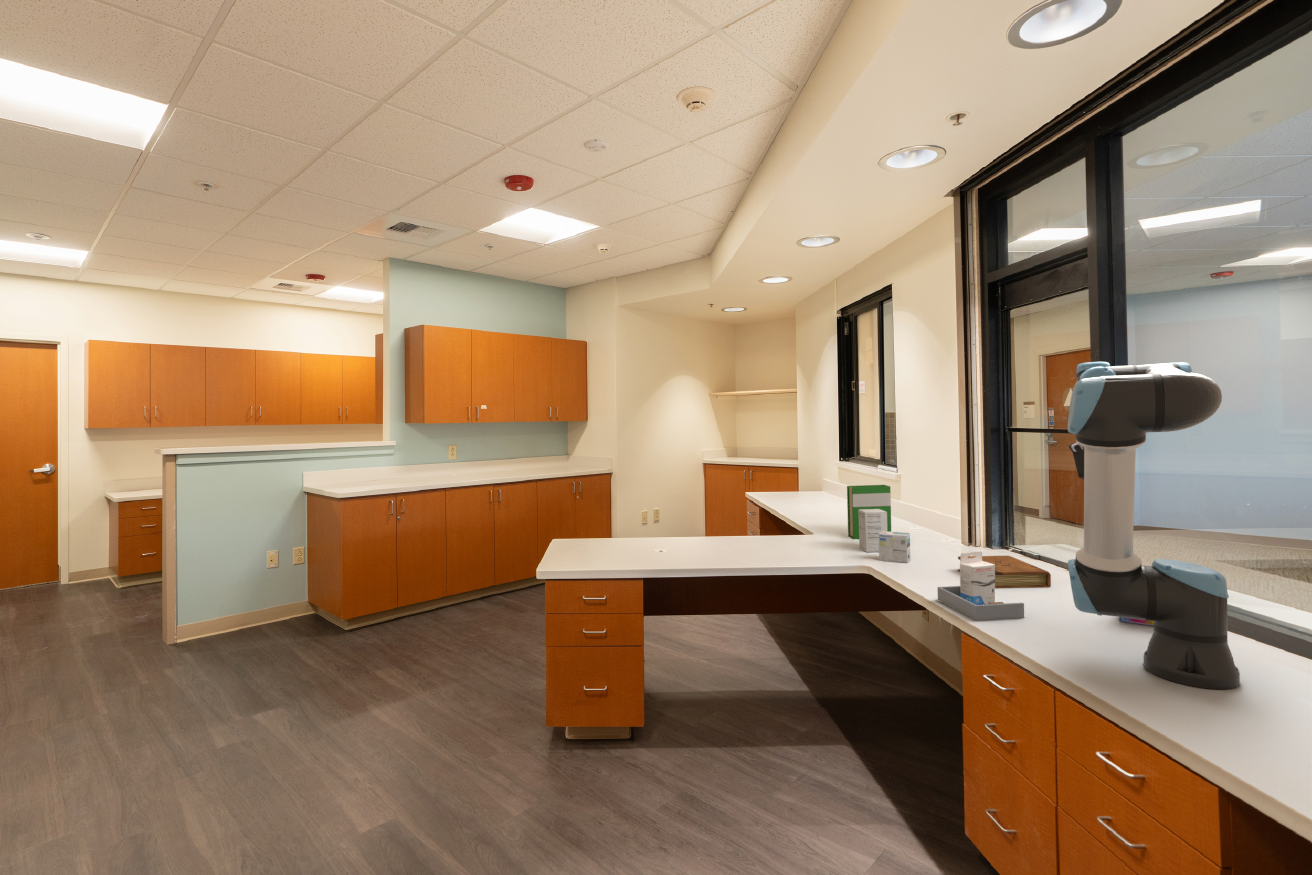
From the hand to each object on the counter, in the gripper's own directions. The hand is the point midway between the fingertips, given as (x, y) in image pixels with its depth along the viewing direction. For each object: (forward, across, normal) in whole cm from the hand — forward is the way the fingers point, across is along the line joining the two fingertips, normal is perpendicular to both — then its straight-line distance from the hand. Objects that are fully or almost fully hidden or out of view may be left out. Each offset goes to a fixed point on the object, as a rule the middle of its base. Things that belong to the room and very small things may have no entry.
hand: (1094, 504), depth 163 cm
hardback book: (+31, +13, -115) cm, 120 cm away
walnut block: (+31, +24, -6) cm, 40 cm away
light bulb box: (+31, +23, -70) cm, 80 cm away
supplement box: (+31, +23, -89) cm, 97 cm away
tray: (+30, +28, -10) cm, 42 cm away
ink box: (+31, +25, -15) cm, 42 cm away
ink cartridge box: (+31, -6, +8) cm, 32 cm away
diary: (+31, +1, -38) cm, 49 cm away
